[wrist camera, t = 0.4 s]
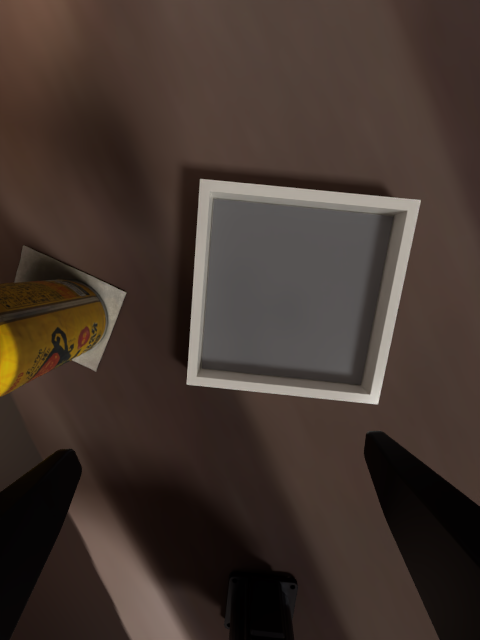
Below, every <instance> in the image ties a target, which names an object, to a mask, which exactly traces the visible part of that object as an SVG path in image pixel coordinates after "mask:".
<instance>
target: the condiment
mask: <svg viewBox="0 0 480 640" xmlns="http://www.w3.org/2000/svg"><path fill="white" fill-rule="evenodd" d="M125 295H126V292H124V291H122V290H119V289H117V288H115V287H113V286H111V285H109V284H107V283H105V282H103V281H100V280H98V279H96V278H94V277H92V276H90V275H88V274H85V273H84V272H81V271H79V270H77V269H75V268H72V267H70V266H67V265H65V264H63V263H61V262H59V261H57V260H55V259H53V258H51V257H49V256H46V255H44V254H42V253H39V252H37V251H35V250H33V249H31V248H29V247H26V246H24V245H23V249H22V252H21V259H20V262H19V266H18V269H17V273H16V278H15V281H14V283H3V284H0V397H1V396H4V395H6V394H8V393H10V392H11V391H13V390H15V389H17V388H18V387H20V386H22V385H24V384H25V383H28V382H30V381H31V380H33V379H35V378H37V377H39V376H41V375H43V374H45V373H47V372H49V371H51V370H52V369H55V368H57V367H58V366H61V365H63V364H64V363H66V362H69V361H71V360H73V361H75V362H77V363H79V364H81V365H84V366H86V367H88V368H90V369H92V370H94V371H95V372H96V369H97V367H98V364H99V362H100V359H101V357H102V354H103V352H104V350H105V347H106V345H107V342H108V340H109V337H110V335H111V332H112V329H113V327H114V324H115V322H116V319H117V316H118V313H119V310H120V308H121V305H122V302H123V300H124V297H125Z"/></svg>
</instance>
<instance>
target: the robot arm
mask: <svg viewBox="0 0 480 640" xmlns="http://www.w3.org/2000/svg"><path fill="white" fill-rule="evenodd" d="M364 457H365V460H366V463H367V466H368V469H369V472H370V475H371V478H372V481H373V484H374V487H375V490H376V493H377V496H378V499H379V502H380V505H381V508H382V510H383V513H384V516H385V518H386V521H387V523H388V525H389V528H390V530H391V532H392V534H393V537H394V539H395V541H396V543H397V546H398V548H399V550H400V552H401V554H402V557H403V559H404V561H405V563H406V566H407V568H408V570H409V572H410V575H411V577H412V579H413V581H414V583H415V586H416V588H417V590H418V592H419V595H420V597H421V599H422V601H423V604H424V606H425V608H426V610H427V613H428V615H429V617H430V619H431V621H432V624H433V626H434V628H435V630H436V633H437V635H438V637H439V639H440V640H480V506H478V505H477V504H476V503H475V502H473V501H472V500H471V499H469V498H468V497H467V496H466V495H464V494H463V493H462V492H460V491H459V490H458V489H456V488H455V487H454V486H453V485H451V484H450V483H449V482H447V481H446V480H445V479H444V478H442V477H441V476H440V475H438V474H437V473H436V472H434V471H433V470H432V469H431V468H429V467H428V466H427V465H425V464H424V463H423V462H422V461H420V460H419V459H418V458H416V457H415V456H414V455H412V454H411V453H410V452H409V451H407V450H406V449H405V448H403V447H402V446H401V445H400V444H398V443H397V442H396V441H394V440H393V439H392V438H390V437H389V436H388V435H387V434H385V433H384V432H382V431H369V432H367V434H366V439H365V447H364ZM81 473H82V467H81V464H80V462H79V460H78V458H77V455H76V453H75V451H74V450H73V449H60V450H58V451H56V452H54V453H53V454H52V455H50V456H49V457H48V458H46V459H45V460H44V461H42V462H41V463H39V464H38V465H37V466H36V467H34V468H33V469H31V470H30V471H29V472H27V473H26V474H24V475H23V476H22V477H20V478H19V479H18V480H16V481H15V482H14V483H12V484H11V485H9V486H8V487H7V488H5V489H4V490H3V491H1V492H0V640H10V638H11V636H12V634H13V632H14V630H15V627H16V625H17V623H18V621H19V619H20V617H21V614H22V612H23V610H24V608H25V606H26V604H27V601H28V599H29V597H30V595H31V593H32V591H33V589H34V587H35V584H36V582H37V580H38V578H39V576H40V574H41V572H42V569H43V567H44V565H45V563H46V561H47V559H48V556H49V554H50V552H51V550H52V548H53V546H54V544H55V541H56V539H57V537H58V535H59V532H60V530H61V527H62V525H63V522H64V520H65V517H66V515H67V512H68V509H69V507H70V504H71V501H72V498H73V496H74V493H75V490H76V488H77V485H78V482H79V479H80V477H81ZM297 590H298V585H297V581H296V579H293V578H286V577H277V576H268V575H259V574H250V573H241V572H232V573H231V574H230V577H229V586H228V595H227V604H226V613H225V623H224V625H225V628H227V629H230V633H229V640H294V634H293V626H292V619H293V613H294V607H295V601H296V596H297Z"/></svg>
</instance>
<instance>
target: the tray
mask: <svg viewBox="0 0 480 640" xmlns="http://www.w3.org/2000/svg"><path fill="white" fill-rule="evenodd" d="M420 202H421V200H414V199H403V198H393V197H383V196H372V195H362V194H352V193H342V192H331V191H321V190H311V189H300V188H290V187H280V186H269V185H259V184H249V183H238V182H228V181H218V180H207V179H200V187H199V202H198V218H197V233H196V249H195V264H194V279H193V295H192V310H191V325H190V341H189V356H188V372H187V385H197V386H206V387H216V388H225V389H235V390H245V391H254V392H264V393H273V394H283V395H292V396H302V397H312V398H321V399H331V400H340V401H350V402H360V403H369V404H378V402H379V397H380V392H381V387H382V383H383V378H384V373H385V368H386V364H387V359H388V354H389V349H390V345H391V340H392V335H393V330H394V326H395V321H396V316H397V311H398V307H399V302H400V297H401V292H402V288H403V283H404V278H405V273H406V268H407V264H408V259H409V254H410V249H411V245H412V240H413V235H414V230H415V226H416V221H417V216H418V211H419V207H420Z"/></svg>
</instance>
